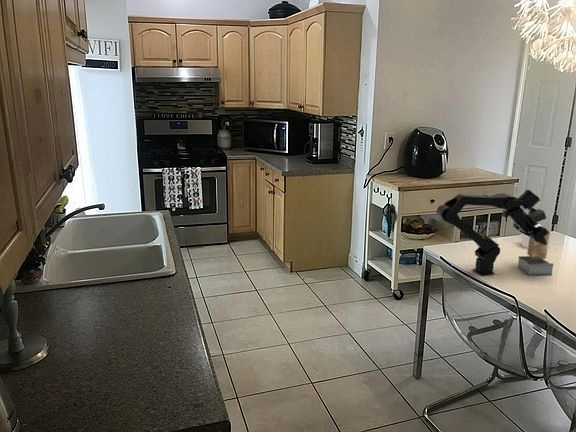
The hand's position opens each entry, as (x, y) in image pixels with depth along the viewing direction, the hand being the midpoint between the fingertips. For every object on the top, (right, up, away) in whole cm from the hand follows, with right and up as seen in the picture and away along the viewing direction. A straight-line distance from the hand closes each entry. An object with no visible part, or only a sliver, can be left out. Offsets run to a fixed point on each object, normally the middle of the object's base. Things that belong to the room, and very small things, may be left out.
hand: (541, 241), depth 204 cm
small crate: (-1, -6, +2) cm, 7 cm away
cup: (+11, -4, +34) cm, 36 cm away
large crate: (-2, -13, +3) cm, 13 cm away
